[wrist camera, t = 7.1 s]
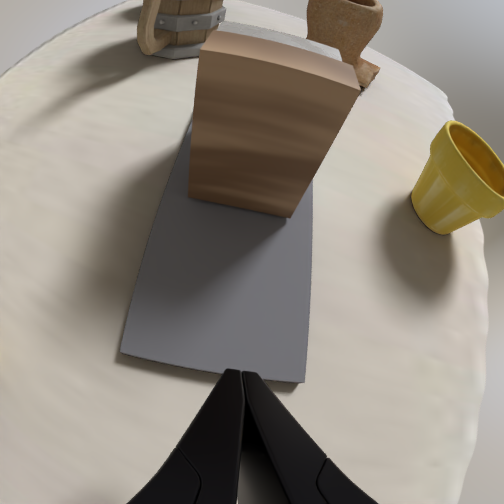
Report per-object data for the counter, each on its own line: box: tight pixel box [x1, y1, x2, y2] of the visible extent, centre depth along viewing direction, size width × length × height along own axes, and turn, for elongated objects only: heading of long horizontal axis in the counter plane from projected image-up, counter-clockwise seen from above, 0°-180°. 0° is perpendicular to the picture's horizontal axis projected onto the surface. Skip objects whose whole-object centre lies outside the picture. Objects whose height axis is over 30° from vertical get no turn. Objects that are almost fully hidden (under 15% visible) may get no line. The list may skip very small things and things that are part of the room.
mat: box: [120, 119, 313, 383], centre depth 24 cm, size 25×12×1 cm, turn 173°
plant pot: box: [411, 121, 504, 235], centre depth 26 cm, size 10×10×10 cm
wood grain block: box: [188, 30, 361, 218], centre depth 20 cm, size 13×8×12 cm, turn 173°
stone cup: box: [306, 0, 383, 88], centre depth 33 cm, size 15×12×15 cm
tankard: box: [137, 0, 226, 59], centre depth 28 cm, size 20×13×15 cm, turn 161°
